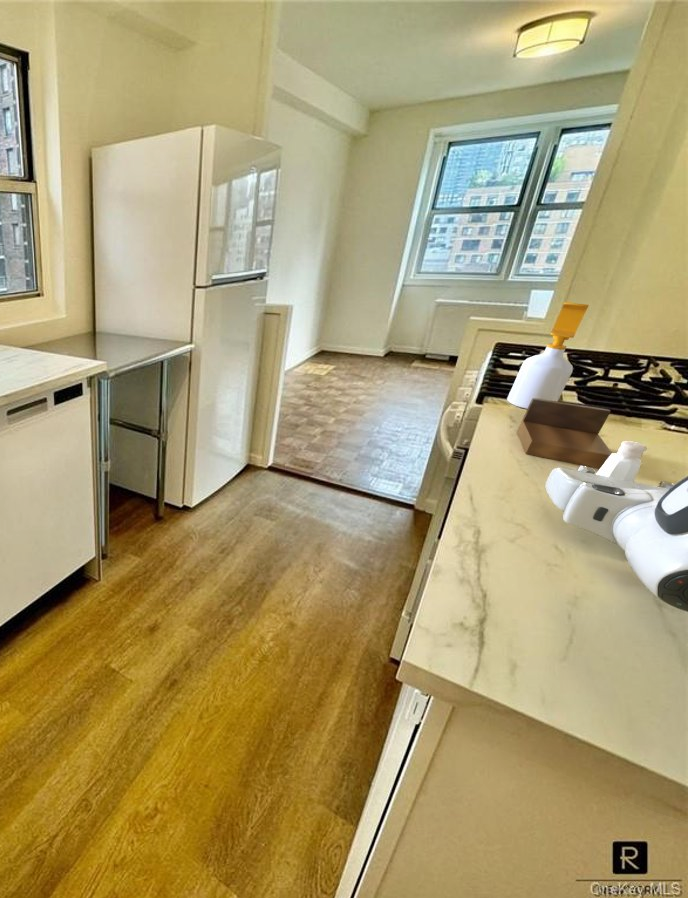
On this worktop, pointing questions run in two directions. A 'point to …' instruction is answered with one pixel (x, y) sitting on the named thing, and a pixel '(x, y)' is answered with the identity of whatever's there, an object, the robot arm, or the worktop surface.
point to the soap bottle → (548, 362)
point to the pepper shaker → (624, 462)
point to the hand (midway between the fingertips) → (623, 478)
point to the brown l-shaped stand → (564, 432)
